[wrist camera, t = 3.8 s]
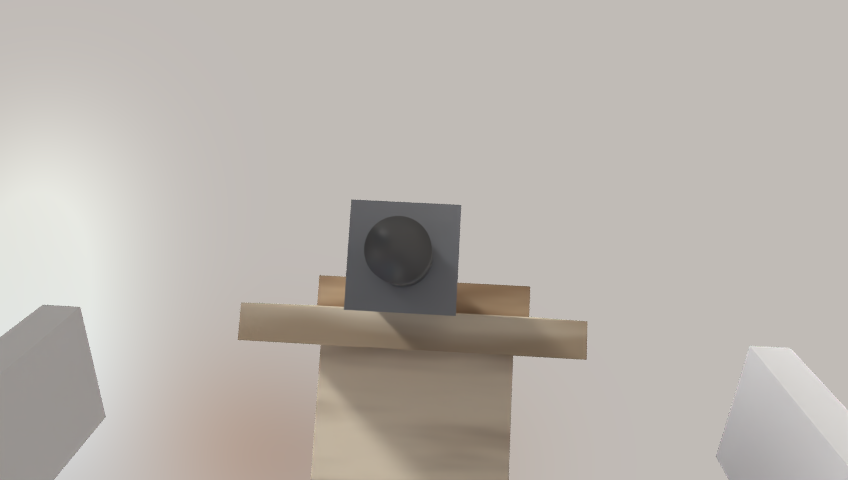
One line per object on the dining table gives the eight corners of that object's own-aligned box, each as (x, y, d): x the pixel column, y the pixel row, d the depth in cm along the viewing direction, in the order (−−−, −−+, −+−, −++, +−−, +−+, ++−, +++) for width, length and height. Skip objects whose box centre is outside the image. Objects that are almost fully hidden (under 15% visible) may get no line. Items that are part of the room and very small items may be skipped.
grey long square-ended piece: (462, 316, 13) (468, 182, 14) (325, 309, 14) (335, 175, 14) (447, 312, 37) (449, 263, 38) (397, 309, 37) (400, 260, 38)
